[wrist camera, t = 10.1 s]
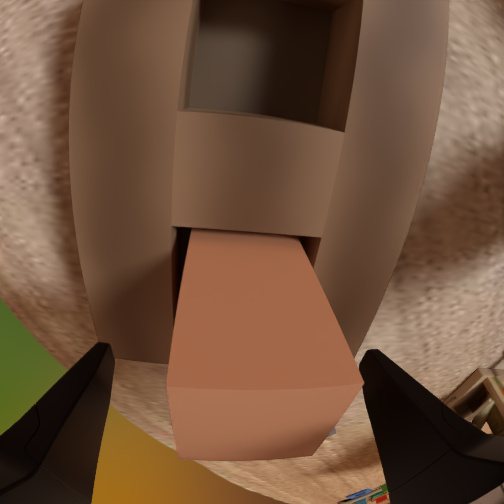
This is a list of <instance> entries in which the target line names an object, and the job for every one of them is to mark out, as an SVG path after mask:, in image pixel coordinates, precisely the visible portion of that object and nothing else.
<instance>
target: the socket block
mask: <svg viewBox="0 0 504 504" xmlns="http://www.w3.org/2000/svg"><path fill="white" fill-rule="evenodd" d="M448 29H449V0H83V5H82V9H81V14H80V19H79V24H78V30H77V36H76V42H75V49H74V57H73V65H72V75H71V87H70V104H69V168H70V185H71V197H72V208H73V217H74V225H75V233H76V240H77V246H78V253H79V259H80V264H81V270H82V275H83V280H84V285H85V289H86V294H87V298H88V303H89V307H90V311H91V315H92V319H93V323H94V326H95V330H96V334H97V337H98V341H99V342H106V343H109V344H110V345H111V348H112V352H113V355H114V358H118V359H125V360H133V361H142V362H151V363H161V364H169V358H170V351H171V344H172V337H173V330H174V324H175V318H176V311H177V305H178V299H179V293H180V288H181V282H182V276H183V271H184V266H185V260H186V255H187V250H188V245H189V240H190V235H191V230H192V227H194V228H209V229H223V230H236V231H250V232H262V233H275V234H287V235H297V237H298V239H299V241H300V243H301V245H302V247H303V249H304V251H305V253H306V255H307V257H308V259H309V262H310V264H311V266H312V268H313V270H314V272H315V274H316V276H317V278H318V280H319V282H320V285H321V287H322V289H323V291H324V293H325V295H326V297H327V299H328V302H329V304H330V306H331V308H332V310H333V313H334V315H335V317H336V319H337V321H338V324H339V326H340V328H341V330H342V332H343V335H344V337H345V339H346V341H347V344H348V346H349V348H350V351H351V353H352V355H353V357H354V358H355V356H356V354H357V352H358V350H359V348H360V346H361V344H362V342H363V340H364V338H365V336H366V334H367V332H368V330H369V327H370V325H371V323H372V321H373V319H374V317H375V314H376V312H377V310H378V308H379V305H380V303H381V301H382V299H383V296H384V294H385V292H386V289H387V287H388V284H389V282H390V279H391V277H392V274H393V272H394V269H395V267H396V264H397V261H398V259H399V256H400V253H401V251H402V248H403V245H404V242H405V239H406V237H407V234H408V231H409V228H410V225H411V222H412V219H413V215H414V212H415V209H416V206H417V203H418V199H419V196H420V192H421V189H422V185H423V182H424V178H425V174H426V170H427V166H428V162H429V158H430V154H431V150H432V145H433V141H434V136H435V131H436V126H437V121H438V115H439V110H440V104H441V98H442V91H443V84H444V76H445V67H446V57H447V46H448Z"/></svg>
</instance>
